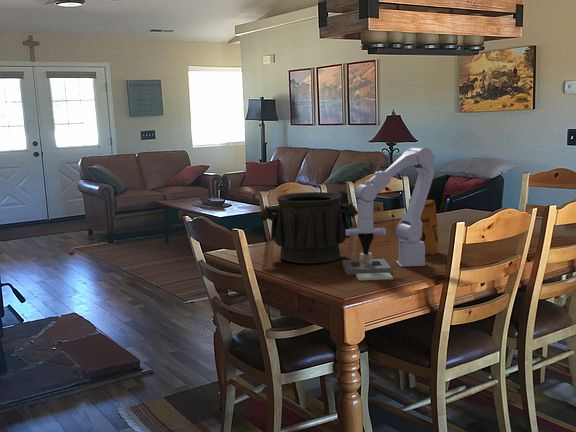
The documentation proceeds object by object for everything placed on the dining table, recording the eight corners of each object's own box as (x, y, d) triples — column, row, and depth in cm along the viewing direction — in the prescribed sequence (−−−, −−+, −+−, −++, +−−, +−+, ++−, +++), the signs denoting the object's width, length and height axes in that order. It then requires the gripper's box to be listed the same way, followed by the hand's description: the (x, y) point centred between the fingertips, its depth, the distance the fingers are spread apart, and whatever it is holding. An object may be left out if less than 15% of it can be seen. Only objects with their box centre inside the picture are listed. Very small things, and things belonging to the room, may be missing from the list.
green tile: (389, 274, 227) (389, 272, 227) (393, 279, 220) (393, 277, 220) (355, 275, 227) (355, 273, 227) (358, 280, 220) (358, 278, 220)
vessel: (255, 258, 256) (252, 197, 252) (313, 246, 276) (312, 188, 272) (305, 272, 233) (303, 204, 229) (365, 257, 253) (365, 195, 249)
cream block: (370, 268, 237) (370, 252, 236) (372, 270, 233) (372, 254, 232) (359, 268, 237) (359, 252, 236) (361, 271, 233) (361, 255, 232)
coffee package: (432, 257, 251) (433, 201, 247) (403, 253, 258) (403, 199, 254) (441, 252, 259) (442, 198, 255) (413, 248, 266) (413, 196, 262)
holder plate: (383, 263, 242) (383, 258, 242) (391, 273, 228) (391, 267, 228) (341, 265, 241) (341, 260, 241) (346, 274, 228) (346, 269, 227)
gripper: (347, 219, 227) (347, 257, 230) (387, 218, 228) (387, 255, 230) (344, 216, 234) (344, 252, 237) (383, 215, 235) (383, 251, 237)
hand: (365, 253), depth 234 cm, fingers closed, pressing on cream block
